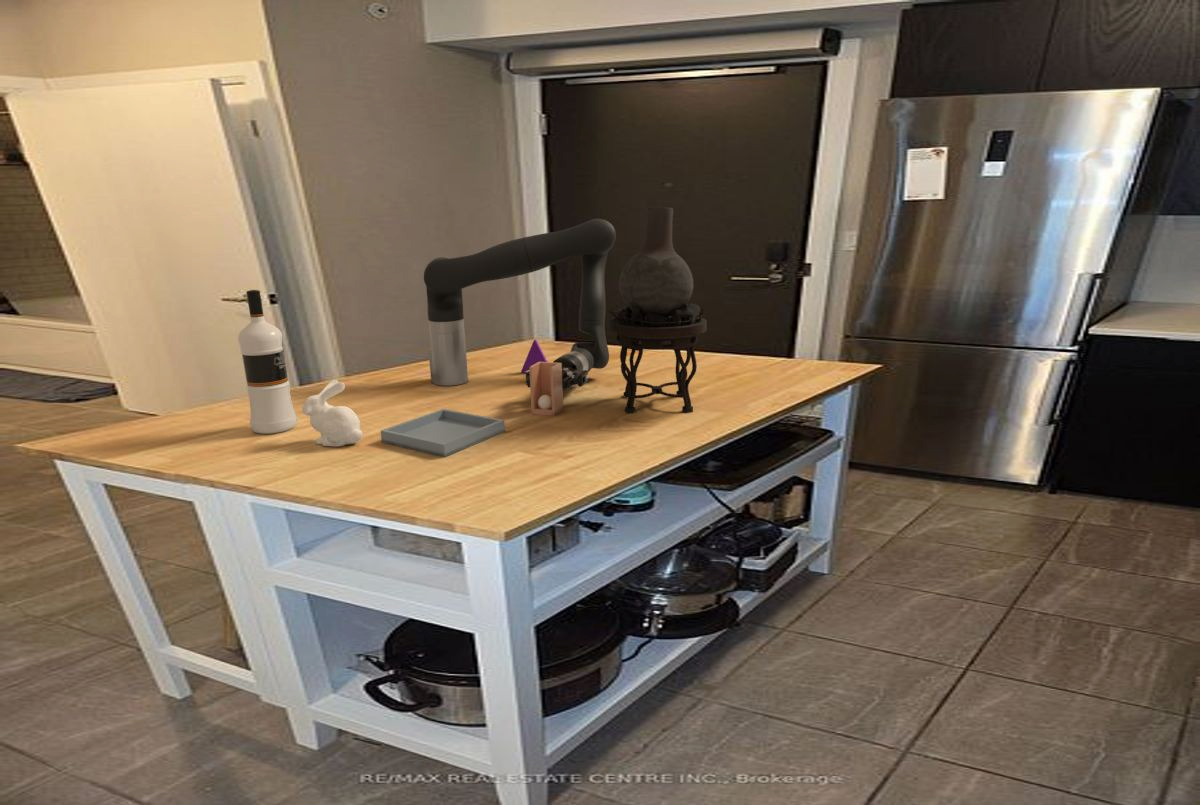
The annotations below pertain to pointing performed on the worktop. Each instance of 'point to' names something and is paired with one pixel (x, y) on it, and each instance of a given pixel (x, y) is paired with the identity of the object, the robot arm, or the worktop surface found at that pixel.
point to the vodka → (265, 372)
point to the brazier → (657, 308)
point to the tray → (443, 432)
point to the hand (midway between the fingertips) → (546, 384)
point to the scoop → (546, 386)
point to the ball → (545, 402)
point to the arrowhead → (533, 356)
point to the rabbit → (332, 418)
